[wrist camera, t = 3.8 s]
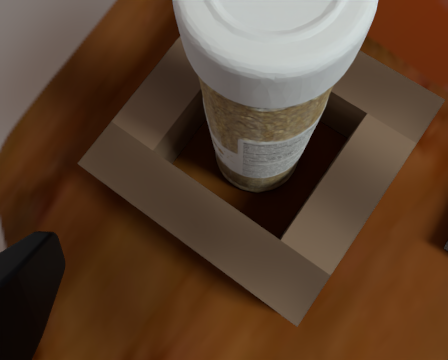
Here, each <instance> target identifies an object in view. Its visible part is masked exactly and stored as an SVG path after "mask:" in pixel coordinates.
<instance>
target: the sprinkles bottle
mask: <svg viewBox="0 0 448 360" xmlns="http://www.w3.org/2000/svg"><path fill="white" fill-rule="evenodd" d="M172 1H173V8H174V12H175V17H176V21H177V25H178V29H179V33H180V37H181V40H182V44H183V47H184V50H185V53H186V56H187V58H188V60H189V62H190V64H191V65H192V67H193V69H194V71H195V72H196V73H197V74H198V77H199V81H200V86H201V90H202V95H203V104H204V109H205V114H206V118H207V122H208V126H209V130H210V134H211V138H212V142H213V146H214V148H215V155H216V161H217V164H218V167H219V169H220V171H221V173H222V174H223V176H224V177H225V178H226V179H227V180H228V181H229V182H230V183H232V184H233V185H234V186H236V187H238V188H240V189H243V190H246V191H251V192H256V193H259V192H264V191H270V190H273V189H275V188H278V187H279V186H281V185H282V184H284V183H285V182H286V181H288V179H289V178H290V176H291V175H292V174H293V172H294V171H295V169H296V166H297V164H298V161H299V158H300V156H301V154H302V153H303V151H304V149H305V147H306V145H307V143H308V141H309V139H310V137H311V135H312V133H313V131H314V129H315V127H316V125H317V123H318V121H319V119H320V117H321V115H322V113H323V111H324V109H325V107H326V104H327V101H328V97H329V94H330V92H331V90H332V88H333V86H334V84H335V83H336V82H337V81H338V80H339V79H340V78H341V77H342V76H343V75H344V74H345V72H346V71H347V70H348V68H349V67H350V65H351V64H352V62H353V61H354V59H355V57H356V55H357V53H358V51H359V49H360V47H361V45H362V43H363V41H364V39H365V37H366V35H367V32H368V30H369V28H370V26H371V23H372V21H373V18H374V15H375V12H376V9H377V4H378V0H172Z"/></svg>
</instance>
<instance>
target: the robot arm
mask: <svg viewBox="0 0 448 360" xmlns="http://www.w3.org/2000/svg"><path fill="white" fill-rule="evenodd" d="M64 270H65V258H64V255H63V252H62V248H61V245H60V242H59V239H58V236H57V235H56V234H55V233H54V232H43V231H37V232H34V233H32V234H30V235H29V236H27V237H25V238H24V239H22V240H20V241H19V242H17V243H15V244H14V245H12V246H10V247H9V248H7V249H5V250H4V251H2V252H1V253H0V360H32V358H33V356H34V354H35V351H36V349H37V347H38V345H39V342H40V340H41V338H42V335H43V333H44V330H45V327H46V324H47V321H48V318H49V315H50V312H51V309H52V306H53V303H54V300H55V297H56V294H57V291H58V288H59V285H60V282H61V279H62V276H63V273H64Z"/></svg>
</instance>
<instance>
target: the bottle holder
mask: <svg viewBox="0 0 448 360" xmlns="http://www.w3.org/2000/svg"><path fill="white" fill-rule="evenodd" d="M444 101H445V100H444V99H443V98H441V97H439V96H437V95H436V94H434V93H432V92H430V91H429V90H427V89H425V88H424V87H422V86H420V85H418V84H417V83H415V82H413V81H411V80H410V79H408V78H406V77H405V76H403V75H401V74H399V73H398V72H396V71H394V70H392V69H391V68H389V67H387V66H386V65H384V64H382V63H380V62H379V61H377V60H375V59H374V58H372V57H370V56H368V55H367V54H365V53H363V52H361V51H360V50H359V51H358V53H357V55H356V57H355V59H354V61H353V62H352V64H351V65H350V67H349V68H348V70H347V71H346V72H345V74H344V75H343V76H342V77H341V78H340V79H339V80H338V81H337V82H336V83H335V84H334V86H333V88H332V90H331V92H330V94H329V97H328V101H327V104H326V107H325V109H324V111H323V113H322V115H321V117H320V119H319V120H320V121H321V122H323V123H324V124H326V125H328V126H329V127H331V128H332V129H334V130H336V131H337V132H339V133H340V134H342V135H344V136H345V137H347V138H348V139H347V140H346V142H345V143H344V145H343V146H342V148H341V149H340V151H339V152H338V154H337V155H336V157H335V158H334V159H333V161H332V162H331V164H330V165H329V167H328V168H327V170H326V171H325V173H324V174H323V175H322V177H321V178H320V180H319V181H318V183H317V184H316V186H315V187H314V189H313V190H312V191H311V193H310V194H309V196H308V197H307V199H306V200H305V202H304V203H303V205H302V206H301V208H300V209H299V210H298V212H297V213H296V215H295V216H294V218H293V219H292V221H291V222H290V224H289V225H288V226H287V228H286V229H285V231H284V232H283V234H282V235H281V237H280V238H279V239H278V238H277V237H275V236H274V235H272V234H271V233H269V232H268V231H267V230H265V229H264V228H262V227H261V226H259V225H258V224H257V223H255V222H254V221H252V220H251V219H250V218H248V217H247V216H245V215H244V214H242V213H241V212H240V211H238V210H237V209H235V208H234V207H232V206H231V205H230V204H228V203H227V202H225V201H224V200H222V199H221V198H220V197H218V196H217V195H215V194H214V193H213V192H211V191H210V190H208V189H207V188H205V187H204V186H203V185H201V184H200V183H198V182H197V181H195V180H194V179H193V178H191V177H190V176H188V175H187V174H185V173H184V172H183V171H181V170H180V169H178V168H177V167H176V166H174V165H173V164H172V163H173V162H174V160H175V159H176V158H177V156H178V155H179V154H180V152H181V151H182V150H183V149H184V147H185V146H186V145H187V143H188V142H189V141H190V139H191V138H192V137H193V135H194V134H195V133H196V131H197V130H198V129H199V127H200V126H201V125H202V124H203V122H204V121H205V120H206V114H205V109H204V104H203V95H202V90H201V86H200V81H199V77H198V74H197V73H196V72H195V71H194V69H193V67H192V65H191V64H190V62H189V60H188V58H187V56H186V53H185V50H184V47H183V44H182V40H181V37H179V38H178V39H177V40H176V42H175V43H174V44H173V45H172V46H171V48H170V49H169V50H168V51H167V53H166V54H165V55H164V56H163V58H162V59H161V60H160V61H159V63H158V64H157V65H156V66H155V68H154V69H153V70H152V71H151V73H150V74H149V75H148V76H147V78H146V79H145V80H144V81H143V83H142V84H141V85H140V86H139V87H138V89H137V90H136V91H135V92H134V94H133V95H132V96H131V97H130V99H129V100H128V101H127V102H126V104H125V105H124V106H123V107H122V109H121V110H120V111H119V112H118V114H117V115H116V116H115V117H114V119H113V120H112V121H111V122H110V124H109V125H108V126H107V127H106V128H105V130H104V131H103V132H102V133H101V135H100V136H99V137H98V138H97V140H96V141H95V142H94V143H93V145H92V146H91V147H90V148H89V150H88V151H87V152H86V153H85V155H84V156H83V157H82V158H81V160H80V161H79V162H78V163H77V164H78V165H80V166H81V167H82V168H84V169H85V170H86V171H88V172H89V173H91V174H92V175H93V176H95V177H96V178H97V179H99V180H100V181H101V182H103V183H104V184H105V185H107V186H108V187H109V188H111V189H112V190H113V191H115V192H116V193H117V194H119V195H120V196H122V197H123V198H124V199H126V200H127V201H128V202H130V203H131V204H132V205H134V206H135V207H136V208H138V209H139V210H140V211H142V212H143V213H144V214H146V215H147V216H149V217H150V218H151V219H153V220H154V221H155V222H157V223H158V224H159V225H161V226H162V227H163V228H165V229H166V230H167V231H169V232H170V233H171V234H173V235H174V236H175V237H177V238H178V239H180V240H181V241H182V242H184V243H185V244H186V245H188V246H189V247H190V248H192V249H193V250H194V251H196V252H197V253H198V254H200V255H201V256H202V257H204V258H205V259H206V260H208V261H209V262H211V263H212V264H213V265H215V266H216V267H217V268H219V269H220V270H221V271H223V272H224V273H225V274H227V275H228V276H229V277H231V278H232V279H233V280H235V281H236V282H238V283H239V284H240V285H242V286H243V287H244V288H246V289H247V290H248V291H250V292H251V293H252V294H254V295H255V296H256V297H258V298H259V299H260V300H262V301H263V302H264V303H266V304H267V305H269V306H270V307H271V308H273V309H274V310H275V311H277V312H278V313H279V314H281V315H282V316H283V317H285V318H286V319H287V320H289V321H290V322H291V323H293V324H294V325H296V326H298V325H299V323H300V322H301V320H302V319H303V317H304V316H305V314H306V313H307V311H308V309H309V308H310V306H311V305H312V303H313V302H314V300H315V299H316V297H317V296H318V294H319V293H320V291H321V290H322V288H323V286H324V285H325V283H326V282H327V280H328V279H329V277H330V276H331V274H332V273H333V271H334V270H335V268H336V267H337V265H338V263H339V262H340V260H341V259H342V257H343V256H344V254H345V253H346V251H347V250H348V248H349V247H350V245H351V244H352V242H353V240H354V239H355V237H356V236H357V234H358V233H359V231H360V230H361V228H362V227H363V225H364V224H365V222H366V221H367V219H368V217H369V216H370V214H371V213H372V211H373V210H374V208H375V207H376V205H377V204H378V202H379V201H380V199H381V198H382V196H383V194H384V193H385V191H386V190H387V188H388V187H389V185H390V184H391V182H392V181H393V179H394V178H395V176H396V175H397V173H398V171H399V170H400V168H401V167H402V165H403V164H404V162H405V161H406V159H407V158H408V156H409V155H410V153H411V152H412V150H413V148H414V147H415V145H416V144H417V142H418V141H419V139H420V138H421V136H422V135H423V133H424V132H425V130H426V129H427V127H428V125H429V124H430V122H431V121H432V119H433V118H434V116H435V115H436V113H437V112H438V110H439V109H440V107H441V106H442V104H443V102H444Z"/></svg>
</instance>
